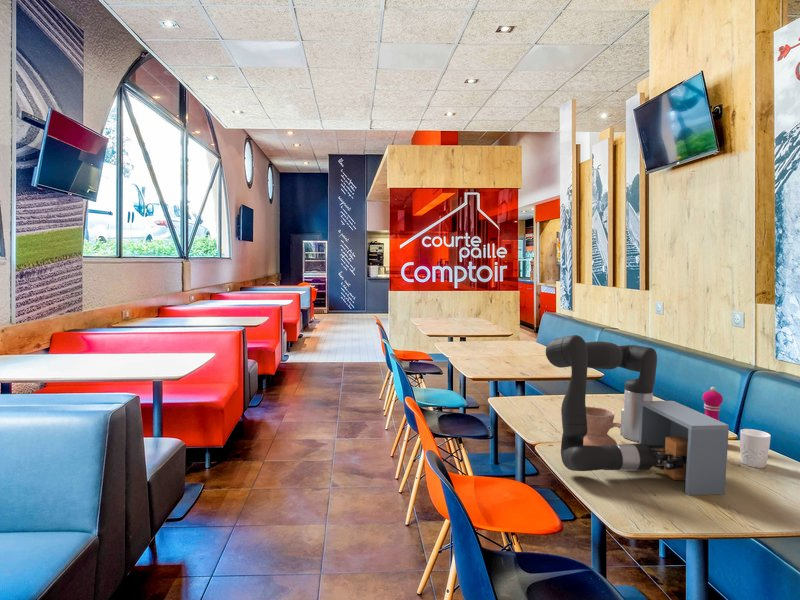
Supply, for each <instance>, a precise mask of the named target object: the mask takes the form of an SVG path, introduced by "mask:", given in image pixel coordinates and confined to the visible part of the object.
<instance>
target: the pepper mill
mask: <svg viewBox="0 0 800 600" xmlns="http://www.w3.org/2000/svg"><path fill="white" fill-rule="evenodd" d="M709 389H710V390H708V391H705V392H704V393H703V394H702V401H703V402H704V403H703V408H704V414H705V415H707V416H709V417H711V418H714V419H716V420H718V421H720V419H719V414H720V413H719V412H720V410H721V407H722V406H721V404H722V403H723V400H724V399H723V395H722V394H721V393H720V392H718V391H717V387H715V386H711V387H710V388H709Z"/></svg>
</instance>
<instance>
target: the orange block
mask: <svg viewBox="0 0 800 600" xmlns="http://www.w3.org/2000/svg"><path fill="white" fill-rule="evenodd" d="M687 447H688V440H687V439H685V438H683V437H666V441H665V453H672V454H673V455H680V456H687ZM668 459H669V456H668ZM673 459H676V458H673ZM686 465H687V464H683V468H678V469H671V470H667V469H666V466H665V465H663V474H665V475H667V476H668V477H669V478H671V479H673V480H676V481H677V480H686Z"/></svg>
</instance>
